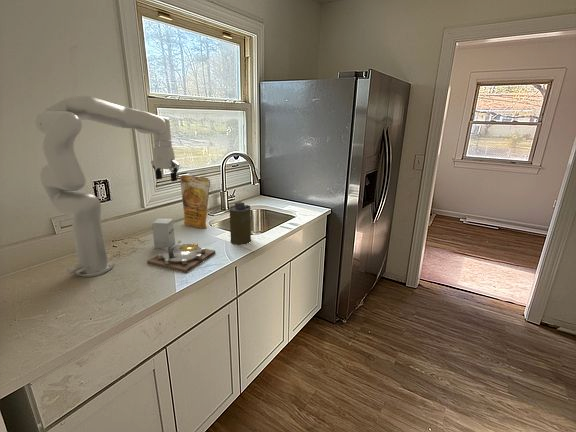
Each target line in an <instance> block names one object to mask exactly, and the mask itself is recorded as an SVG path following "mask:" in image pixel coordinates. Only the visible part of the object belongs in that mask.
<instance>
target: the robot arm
mask: <svg viewBox="0 0 576 432" xmlns="http://www.w3.org/2000/svg"><path fill="white" fill-rule="evenodd" d="M34 119H35V120H34V122H35V123H34V124H35V126H36V128H37V130H38V131H39V132H41V134H44V137H43V141H42V151H43V155H44V157H45V159H46V162H47V163H46V165H44V166H43V167H42V168H41V170H40V174H39V180H40V181H41V184H42V185H41V186H43V189H44V190H45V193H46V194H47V197H48V198H49V201H50V202H51V204H52V205H53V207H54V209H56V210H57V211H58V212H59V213H61V214H64V215H67V216H72V218H73V220H72V223H71V230H72V235H73V239H74V244H75V249H76V253H77V259H78V262H76V263H75V264H76V265H75V266H74V267H72V268H69V269H67V270H66V273H67V275H69V276H70V275H72V274H74V273H75V275H77V276H78V277H85V278H87V277H95V276H100V275H103V274H106V273H107V272H109V271H111V270H112V269H113V267H114V263H113V261H111V260H108V254H107V249H106V242H105V237H104V231H103V227H102V226H103V225H102V217H101V215H102V213H101V212H102V205H101V201H100V199H99V197H97V196H95V194H92V193H89V192H88V191H87V192H86V191H81V190H82V189H83V188H85V185H86V181H87V179H86V176H85V173H84V171H83V169H82V167H81V165H80V161H79V160H78V158H77V155H76V152H75V149H74V148H75V147H74V146H75V145H74V144H75V141H76V139H77V137H78V135H79V134H80V132H81V130H82V128H83V127H82V125H83V124H82V120H86V121H91V122H96V123H100V124H103V125H108V126H112V127H116V128H121V129H135V130H136V132H139V133H141V134H149V135H151V134H152V135H153V144H154V146H153V153H152V155H153V156H152V159H153V160H151V161H150V163H151V165H152V168H153V171H154V172H155V178H156V180H162V179H163V174H162V173H163V172H162V170H169V171H170V180H171V182H176V181H178V177H177V173H178V171H179V169H180V163H179V162H177V161H176V156H175V152H174V148H173V145H172V135H171V124H170V123H171V122H170V118H169V117H166V116H159V115H156V114H154V113H152V112H148V111H143V110H140V109H136V108H135V109H134V108H133V107H132V108H131V107H128V106H124V105H121V104H120V105H119V104H116V103H113V102H110V101H107V100H104V99H101V98H99V97H95V96H91V95H84V94H82V95H70V96H68V97H65V98H63V99H61V100H59V101H57V102H55V103H54V104H52V105H50V106H49V107H46V108H45V109H43V110H41V111H40V112H38V114H37V115H36V116H35V118H34Z"/></svg>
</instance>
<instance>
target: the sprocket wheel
mask: <svg viewBox="0 0 576 432" xmlns="http://www.w3.org/2000/svg"><path fill="white" fill-rule="evenodd" d="M205 249H206V248H205V247H201V246H199V244H198V243H194V242H193V243H192V244H191V243H190V244H189V243H183V242H181V243H179V244H178V243H177V244H176V245H172V246H171V247H165V248H163V249H162V251H163V252H161V253H162V254H161V253H158V254H157V255H158V257H159V259H164V260H165V264H170V263H182V265H183V264H187V262H189V261H193V260H195V259H199V260H200V259H201V258H202V253H204V252H205Z"/></svg>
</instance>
